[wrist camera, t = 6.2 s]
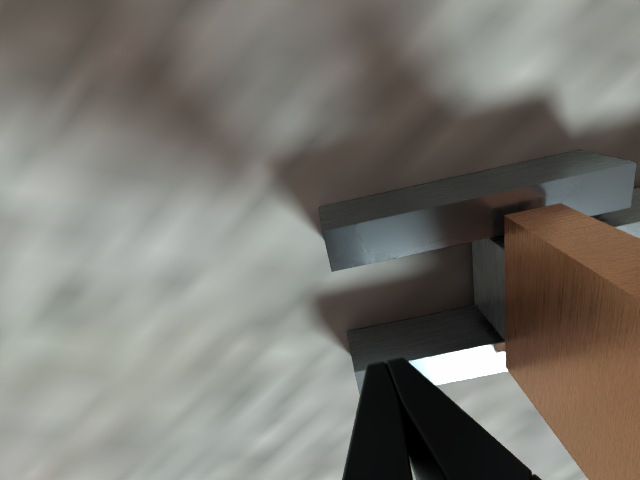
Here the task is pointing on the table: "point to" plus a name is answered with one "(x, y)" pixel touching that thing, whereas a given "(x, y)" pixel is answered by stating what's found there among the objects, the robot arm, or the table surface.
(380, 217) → the ram guide
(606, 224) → the brown boxy piece
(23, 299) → the table surface
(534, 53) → the table surface
